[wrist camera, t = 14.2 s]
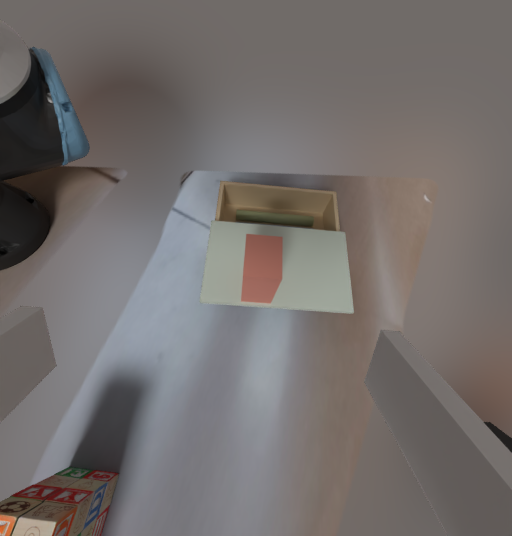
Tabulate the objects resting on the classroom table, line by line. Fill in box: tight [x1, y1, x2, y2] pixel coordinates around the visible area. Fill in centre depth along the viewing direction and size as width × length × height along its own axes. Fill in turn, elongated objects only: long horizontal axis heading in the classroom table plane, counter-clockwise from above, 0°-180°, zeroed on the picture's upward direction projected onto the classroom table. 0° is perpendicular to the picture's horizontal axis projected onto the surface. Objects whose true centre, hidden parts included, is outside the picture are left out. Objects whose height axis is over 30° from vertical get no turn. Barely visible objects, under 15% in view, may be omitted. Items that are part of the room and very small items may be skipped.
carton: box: [215, 181, 340, 232], centre depth 44 cm, size 20×12×6 cm, turn 87°
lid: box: [200, 221, 354, 314], centre depth 33 cm, size 21×13×10 cm, turn 87°
